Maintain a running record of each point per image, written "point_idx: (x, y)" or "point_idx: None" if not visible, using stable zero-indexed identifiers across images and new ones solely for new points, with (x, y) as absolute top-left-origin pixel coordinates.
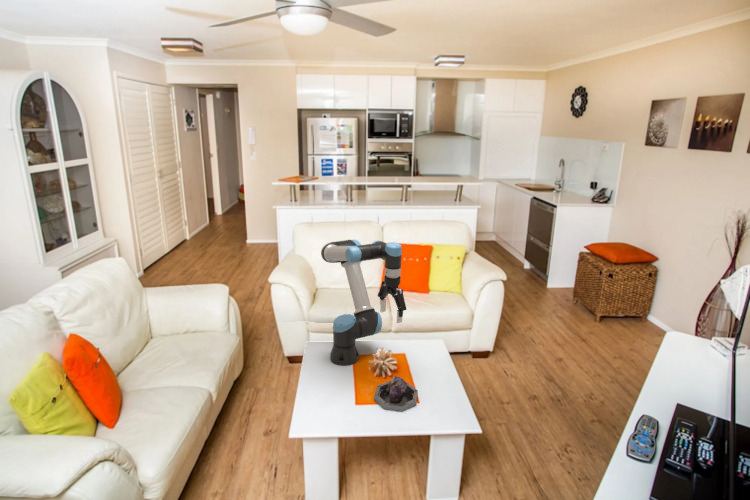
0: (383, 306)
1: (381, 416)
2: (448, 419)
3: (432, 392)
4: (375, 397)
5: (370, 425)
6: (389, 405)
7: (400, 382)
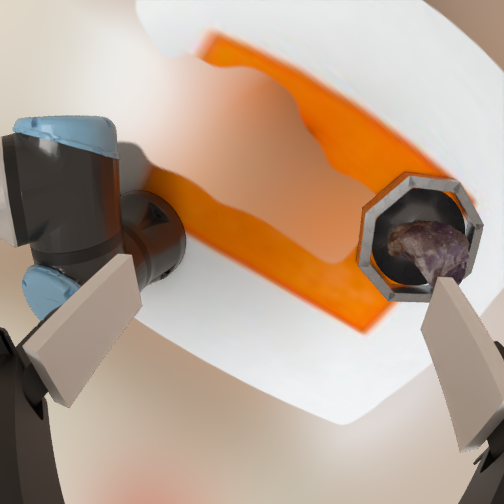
0: (103, 320)
1: None
2: None
3: (469, 130)
4: (393, 299)
5: None
6: None
7: (451, 258)
